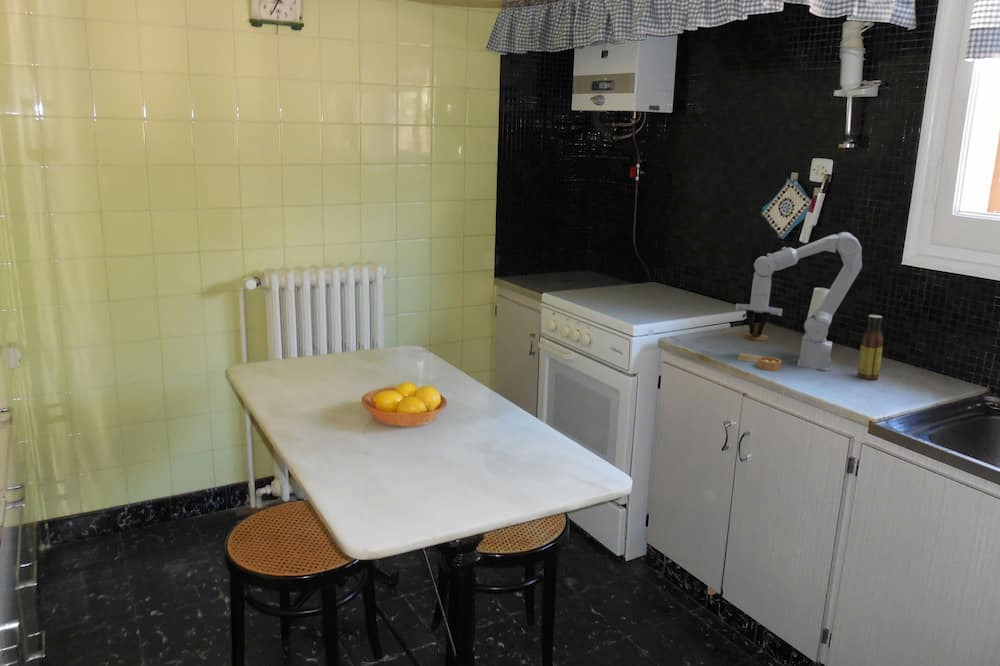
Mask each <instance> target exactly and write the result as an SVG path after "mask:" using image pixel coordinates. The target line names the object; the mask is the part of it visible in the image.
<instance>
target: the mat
mask: <svg viewBox="0 0 1000 666" xmlns="http://www.w3.org/2000/svg"><path fill="white" fill-rule="evenodd" d="M759 357H764V356H762V355H756V354H755V355H754V354H748V353H747V354H746V353H741V352H740V353H739V355H738V356H737V359H736V360H739V361H746V362H752V363H758V358H759Z"/></svg>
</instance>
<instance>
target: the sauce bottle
mask: <svg viewBox="0 0 1000 666" xmlns="http://www.w3.org/2000/svg"><path fill="white" fill-rule="evenodd" d="M867 317H868V318H867V326H866V330H865V332H864V334H863V335H862V338H861V341H860V342H861V343H860V350H859V351H860V352H859V357H858V364H857V365H858V366H857V371H858V372H857V376H858V377H860V378H862V379H864V380H871V381H872V380H877V379H879V376H880V375H879V374H880V372H881V362H882V357H883V356H882V354H883V348H884V347H883V343H884V336H883V333H882V331H881V330H882V329H881V327H882V322H883V316H882V315H878V314H869V315H868V316H867Z"/></svg>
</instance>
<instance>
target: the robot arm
mask: <svg viewBox="0 0 1000 666" xmlns="http://www.w3.org/2000/svg"><path fill="white" fill-rule="evenodd" d="M862 249H863V248H862V246H861V244H860V242H859V240H858V238H857V237H855V236H854V235H853V234H852V233H850V232H848V231H842V232H838V233H837V234H836V233H835V234H830V235H827V236H825V237H823V238H820V239H818V240H815V241H813V242H810V243H808V244H805V245H802V246H801V247H798V248H792V247H790V246H788V247H786V246H784V247H781V249H780V250H779V251H775V252H773V253H771V252H769V253H766V256H764V255H762V256H760V257H758V258H757V259H756V260H755V262H754V263H753V267H754V270H755V271H754V273H753V278H752V284H751V285H752V286H751V294H750V295H751V296H750V303H749V304H748V303H736V304H735V307H734V308H735V309H734V310H735V311H741V312H745V317H746V320H747V322H748V327H749V332H750V334H752V331H753V324H754V323H755V322H754V320H755V315H756V313H758V314H761V316H760V323H759V324H760V330H759V335H761V334H763V330H764V328H765V325H766V323H767V321H768V320H769V318H770V316H771V315H775V316H776V315H777V316H779V317H782V316H783V308H779V307H774V306H773V307H772V306H769V304H770V296H771V287H772V275H773V273H774V272H775V271H776V272H777V271H780V270H783V269H786V268H789V267H792V266H794V265H797V263H798V261H799V260H800V259H802V258H805V257H809V256H812V255H815V254H818V253H821V252H824V251H826V252H831V253H837V252H838V253H839V255H840V258H841V261H842V263H843V266H842V268H841V269H840V271H839V273H838V275H837V276H836V278H835V280H834V281H833V283H832V284H831V286H830V288H828V289H829V291H828V293H827V295H826V296H825V298H824V300H823V301H822V303H821V305H820V306H819V308H818V309H817V310H816V311H815V312H814V313H813V315H812V316H811V317H809V318H808V319H807V318H806V320H805V321H804V323H803V328H804V331H805V333H804V334H803V335H802V338H801V339H802V340H801V346H800V353H799V358H798V361H797V362H796V363H797V364H796V366H798V367H803V368H804V367H805V368H810V369H816V370H820V371H829V367H830V365H831V361H832V358H831V355H832V347H833V341H830V340H829V341H828V340H827V337H828V333H829V328H830V326H831V324H832V320H833V316H834V315H835V313H836V311H837V310H838V308H839V306H840V305H841V303H842V302H843V300H844V298H845V296H846V295H847V293H848V292H849V289H850V288H851V286H852V284H853V283H854V282H855V280H856V278H857V276H858V275H859V273H860V271H861V270H862V268H863V260H862V259H863V258H862V257H863V256H862ZM836 251H837V252H836Z"/></svg>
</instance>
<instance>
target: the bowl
mask: <svg viewBox="0 0 1000 666" xmlns="http://www.w3.org/2000/svg"><path fill="white" fill-rule="evenodd" d="M782 362H783V361H782V360H781V359H779V358H777V357H773V356H772V357H771V356H763V357H759V358H758V362H756V363H757V365H756V368H758V369H760V370H763V371H770V372H777V371H781V369H782Z"/></svg>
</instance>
